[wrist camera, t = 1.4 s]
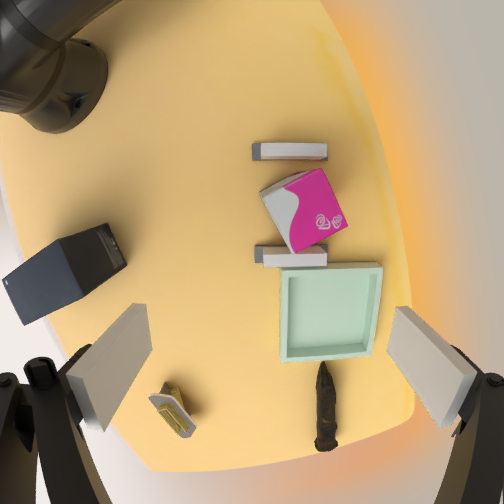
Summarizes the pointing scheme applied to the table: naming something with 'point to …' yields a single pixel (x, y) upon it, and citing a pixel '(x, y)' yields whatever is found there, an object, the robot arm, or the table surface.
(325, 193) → the supplement box
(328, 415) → the hand tool
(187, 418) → the platform
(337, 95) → the table surface
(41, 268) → the small box
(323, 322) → the parts tray
